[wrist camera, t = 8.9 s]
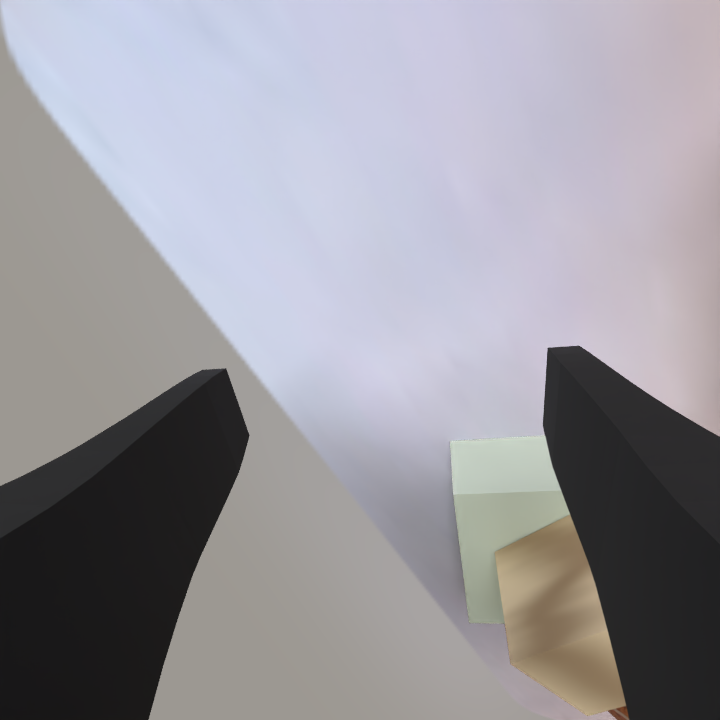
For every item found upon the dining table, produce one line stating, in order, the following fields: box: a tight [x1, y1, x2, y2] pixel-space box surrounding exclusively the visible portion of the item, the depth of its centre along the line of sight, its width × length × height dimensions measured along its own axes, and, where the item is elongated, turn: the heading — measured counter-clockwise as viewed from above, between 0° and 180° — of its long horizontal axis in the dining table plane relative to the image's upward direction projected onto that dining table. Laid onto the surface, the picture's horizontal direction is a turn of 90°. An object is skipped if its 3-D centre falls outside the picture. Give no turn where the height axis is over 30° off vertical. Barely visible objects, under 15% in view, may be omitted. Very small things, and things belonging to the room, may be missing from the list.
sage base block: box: [450, 435, 570, 624], centre depth 24 cm, size 10×10×4 cm
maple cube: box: [495, 515, 626, 716], centre depth 20 cm, size 5×5×5 cm
